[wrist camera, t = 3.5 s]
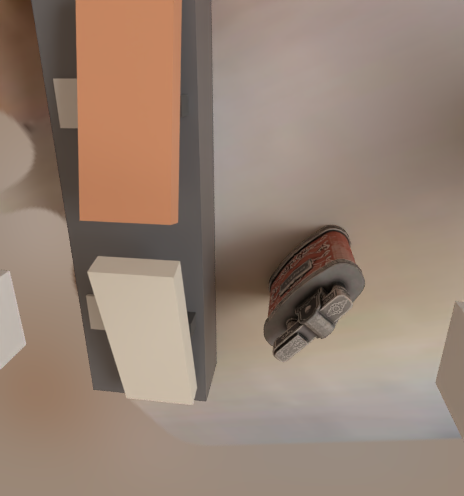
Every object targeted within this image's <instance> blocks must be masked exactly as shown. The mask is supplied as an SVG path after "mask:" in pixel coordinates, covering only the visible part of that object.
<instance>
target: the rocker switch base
mask: <svg viewBox="0 0 464 496" xmlns="http://www.w3.org/2000/svg"><path fill="white" fill-rule="evenodd" d="M31 2H32V8H33V14H34V20H35V27H36V33H37V39H38V45H39V52H40V58H41V64H42V70H43V77H44V83H45V89H46V95H47V102H48V108H49V114H50V120H51V127H52V133H53V139H54V145H55V152H56V158H57V164H58V170H59V177H60V183H61V189H62V195H63V202H64V208H65V214H66V220H67V227H68V233H69V239H70V246H71V252H72V258H73V264H74V271H75V277H76V283H77V289H78V296H79V302H80V308H81V314H82V321H83V327H84V333H85V339H86V345H87V352H88V358H89V364H90V370H91V376H92V383H93V389H94V390H102V391H111V392H120V393H125V391H124V388H123V385H122V382H121V378H120V375H119V372H118V369H117V366H116V362H115V359H114V356H113V353H112V350H111V346H110V343H109V340H108V337H107V334H106V330H105V327H104V324H103V321H102V318H101V314H100V311H99V308H98V305H97V302H96V298H95V295H94V292H93V289H92V286H91V283H90V279H89V276H88V273H87V271H88V270H89V268H90V267H91V265H92V264H93V262H94V261H95V259H96V258H97V256H106V257H122V258H139V259H156V260H172V261H180V264H181V272H182V279H183V287H184V294H185V301H186V309H187V316H188V324H189V331H190V338H191V346H192V353H193V361H194V368H195V375H196V383H197V390H196V394H195V399H194V400H197V401H206V400H207V397H208V393H209V389H210V386H211V382H212V378H213V375H214V371H215V367H216V364H217V361H216V292H215V223H214V154H213V85H212V16H211V0H182V21H181V81H180V140H179V199H178V223H176V224H172V225H161V224H140V223H120V222H99V221H80V214H79V159H78V104H77V50H76V0H31Z"/></svg>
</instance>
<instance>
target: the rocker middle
mask: <svg viewBox="0 0 464 496" xmlns="http://www.w3.org/2000/svg"><path fill="white" fill-rule="evenodd" d="M181 21H182V0H76V50H77V104H78V159H79V214H80V221H99V222H120V223H140V224H161V225H172V224H176V223H178V199H179V140H180V81H181Z"/></svg>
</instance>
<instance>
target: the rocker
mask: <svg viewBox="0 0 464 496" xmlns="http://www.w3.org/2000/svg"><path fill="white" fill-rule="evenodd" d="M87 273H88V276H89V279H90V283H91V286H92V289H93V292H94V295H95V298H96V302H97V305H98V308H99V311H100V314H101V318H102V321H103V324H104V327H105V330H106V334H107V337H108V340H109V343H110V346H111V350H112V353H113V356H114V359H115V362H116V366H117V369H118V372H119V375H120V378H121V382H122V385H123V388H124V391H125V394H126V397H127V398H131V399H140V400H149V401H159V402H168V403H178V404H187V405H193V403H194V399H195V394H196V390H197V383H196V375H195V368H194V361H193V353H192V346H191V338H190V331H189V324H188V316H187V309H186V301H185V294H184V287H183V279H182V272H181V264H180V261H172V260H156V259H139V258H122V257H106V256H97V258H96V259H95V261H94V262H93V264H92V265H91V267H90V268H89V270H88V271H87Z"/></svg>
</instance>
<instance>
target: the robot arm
mask: <svg viewBox="0 0 464 496" xmlns="http://www.w3.org/2000/svg"><path fill="white" fill-rule="evenodd" d="M25 345H26V341H25V337H24V332H23V328H22V323H21V319H20V315H19V310H18V305H17V301H16V297H15V292H14V287H13V283H12V279H11V274H10V271H9V270H0V369H1V368H2V367H4V366H5V364H6V363H8V362H9V361H10V360H11V359H12V357H14V356H15V355H16V354H17V353H18V352H19V351H20V350H21V349H22V348H23V347H24V346H25ZM436 385H437V387H438V389H439V391H440V393H441V395H442V397H443V399H444V401H445V403H446V405H447V408H448V410H449V412H450V414H451V416H452V418H453V420H454V422H455V424H456V426H457V428H458V430H459V432H460V435H461V437H462V439H463V441H464V302H459V301H455V305H454V309H453V313H452V317H451V321H450V325H449V329H448V333H447V337H446V342H445V346H444V350H443V354H442V358H441V362H440V366H439V370H438V374H437V379H436Z"/></svg>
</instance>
